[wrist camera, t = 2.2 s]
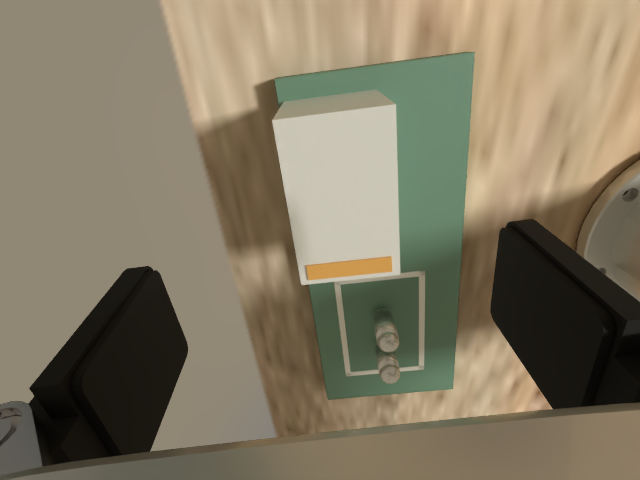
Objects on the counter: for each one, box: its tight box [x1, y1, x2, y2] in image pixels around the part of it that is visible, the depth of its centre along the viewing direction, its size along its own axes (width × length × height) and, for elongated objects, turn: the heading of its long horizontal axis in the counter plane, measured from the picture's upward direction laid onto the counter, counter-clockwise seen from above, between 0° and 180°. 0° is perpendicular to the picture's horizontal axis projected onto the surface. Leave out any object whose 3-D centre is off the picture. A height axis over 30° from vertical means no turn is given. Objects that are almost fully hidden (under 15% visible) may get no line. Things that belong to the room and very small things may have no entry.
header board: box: [274, 52, 475, 400], centre depth 24 cm, size 24×10×1 cm, turn 7°
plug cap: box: [272, 89, 400, 285], centre depth 18 cm, size 8×5×6 cm, turn 7°
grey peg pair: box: [372, 308, 400, 384], centre depth 25 cm, size 4×1×4 cm, turn 7°
